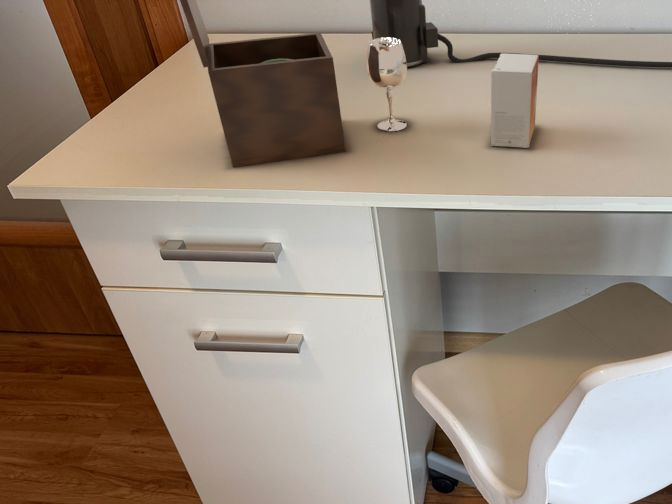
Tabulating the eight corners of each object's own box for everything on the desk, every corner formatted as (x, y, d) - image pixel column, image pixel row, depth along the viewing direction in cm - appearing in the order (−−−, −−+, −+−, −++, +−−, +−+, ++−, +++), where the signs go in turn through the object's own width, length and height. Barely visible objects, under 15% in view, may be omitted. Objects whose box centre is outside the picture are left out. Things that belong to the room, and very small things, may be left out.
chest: (333, 120, 104) (320, 32, 96) (346, 151, 95) (332, 57, 87) (230, 133, 101) (207, 43, 92) (232, 167, 92) (207, 71, 83)
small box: (528, 149, 95) (532, 72, 88) (489, 146, 95) (490, 70, 89) (536, 127, 100) (539, 53, 94) (499, 125, 101) (500, 52, 95)
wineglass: (373, 119, 104) (364, 37, 96) (410, 117, 104) (404, 35, 96) (372, 134, 100) (363, 49, 92) (411, 132, 100) (405, 47, 92)
